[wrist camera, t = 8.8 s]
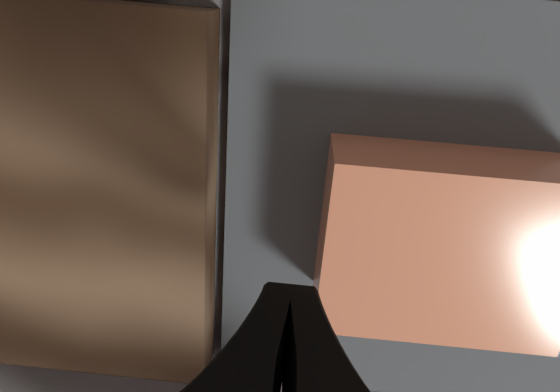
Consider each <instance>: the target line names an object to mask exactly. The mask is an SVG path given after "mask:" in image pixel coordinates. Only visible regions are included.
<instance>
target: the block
mask: <svg viewBox="0 0 560 392" xmlns="http://www.w3.org/2000/svg"><path fill="white" fill-rule="evenodd" d="M313 286H315V287H316V289H317V290H318V292H319V296H320V299H321V302H322V305H323V308H324V310H325V313H326V315H327V317H328V320H329V322H330V324H331V326H332V328H333V330H334V332H335V334H336V335H340V336H350V337H360V338H370V339H380V340H390V341H400V342H410V343H420V344H431V345H441V346H451V347H461V348H471V349H481V350H491V351H501V352H511V353H521V354H531V355H541V356H551V357H557V356H558V354H559V352H560V153H558V152H546V151H534V150H523V149H511V148H500V147H488V146H477V145H465V144H453V143H442V142H430V141H419V140H407V139H396V138H384V137H372V136H361V135H349V134H338V133H331V136H330V144H329V153H328V161H327V169H326V178H325V186H324V194H323V203H322V211H321V219H320V228H319V236H318V244H317V253H316V261H315V269H314V278H313Z"/></svg>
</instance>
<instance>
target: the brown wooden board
mask: <svg viewBox="0 0 560 392" xmlns="http://www.w3.org/2000/svg"><path fill="white" fill-rule="evenodd" d="M219 43H220V9H218V8H206V7H194V6H183V5H171V4H159V3H147V2H135V1H123V0H0V363H2V364H11V365H21V366H30V367H39V368H49V369H58V370H67V371H77V372H86V373H95V374H104V375H114V376H123V377H132V378H142V379H151V380H160V381H170V382H179V383H188V384H189V383H190V382H191V381H192V380H193V379H194V378H196V377H197V376H198V375H199V374H200V373H201V372H202V371H203V370H204V369H205V368H206V366H207V365H208V364H209V363H210V360H211V357H212V353H213V348H214V297H215V247H216V196H217V145H218V94H219Z"/></svg>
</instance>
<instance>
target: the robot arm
mask: <svg viewBox="0 0 560 392" xmlns="http://www.w3.org/2000/svg"><path fill="white" fill-rule="evenodd" d="M281 383H282V392H370V390H369V389H368V387H367V386H366V385H365V383H364V382H363V380H362V379H361V377H360V376H359V374H358V373H357V371H356V370H355V368H354V366H353V365H352V363H351V361H350V360H349V358H348V356H347V355H346V353H345V351H344V349H343V348H342V346H341V344H340V342H339V340H338V338H337V336H336V334H335V332H334V330H333V328H332V326H331V324H330V322H329V320H328V317H327V315H326V313H325V310H324V308H323V305H322V302H321V299H320V296H319V292H318V290H317V289H316V287H315V286H307V285H297V284H287V283H277V282H267V283H266V284H264V286H263V289H262V291H261V293H260V295H259V297H258V299H257V301H256V303H255V304H254V306H253V308H252V309H251V311H250V312H249V314H248V315H247V317H246V318H245V320H244V321H243V323H242V324H241V326H240V327H239V328H238V330H237V331H236V332H235V334H234V335H233V336H232V337H231V339H230V340H229V341H228V342H227V344H226V345H225V346H224V347H223V349H222V350H221V351H220V352H219V353H218V355H217V356H216V357H215V358H214V359H213V360H212V361H211V362H210V363H209V364H208V365H207V366H206V368H205V369H204V370H203V371H202V372H201V373H200V374H199V375H198V376H197V377H196V378H194V379H193V380H192V381H191V382H190V383H189V384H188V385H187V386H186V387H185V388H184V389H182V390H181V391H180V392H280V389H281Z"/></svg>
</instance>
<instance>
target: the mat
mask: <svg viewBox="0 0 560 392" xmlns="http://www.w3.org/2000/svg"><path fill="white" fill-rule="evenodd" d="M331 133H338V134H349V135H361V136H372V137H384V138H396V139H407V140H419V141H430V142H442V143H453V144H465V145H477V146H488V147H500V148H511V149H523V150H534V151H546V152H558V153H560V1H550V0H231V17H230V52H229V87H228V123H227V158H226V193H225V228H224V263H223V298H222V333H221V350H222V349H223V347H224V346H225V345H226V344H227V342H228V341H229V340H230V339H231V337H232V336H233V335H234V334H235V332H236V331H237V330H238V328H239V327H240V326H241V324H242V323H243V321H244V320H245V318H246V317H247V315H248V314H249V312H250V311H251V309H252V308H253V306H254V304H255V303H256V301H257V299H258V297H259V295H260V293H261V291H262V289H263V286H264V284H266V283H267V282H277V283H287V284H297V285H307V286H313V278H314V269H315V261H316V253H317V244H318V236H319V228H320V219H321V211H322V203H323V194H324V186H325V178H326V169H327V161H328V153H329V144H330V136H331ZM336 336H337V338H338V340H339V342H340V344H341V346H342V348H343V349H344V351H345V353H346V355H347V356H348V358H349V360H350V361H351V363H352V365H353V366H354V368H355V370H356V371H357V373H358V374H359V376H360V377H361V379H362V380H363V382H364V383H365V385H366V386H367V387H368V389H369V390H371V391H380V392H560V352H559V354H558V356H557V357H551V356H541V355H531V354H521V353H511V352H501V351H491V350H481V349H471V348H461V347H451V346H441V345H431V344H420V343H410V342H400V341H390V340H380V339H370V338H360V337H350V336H340V335H336Z"/></svg>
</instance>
